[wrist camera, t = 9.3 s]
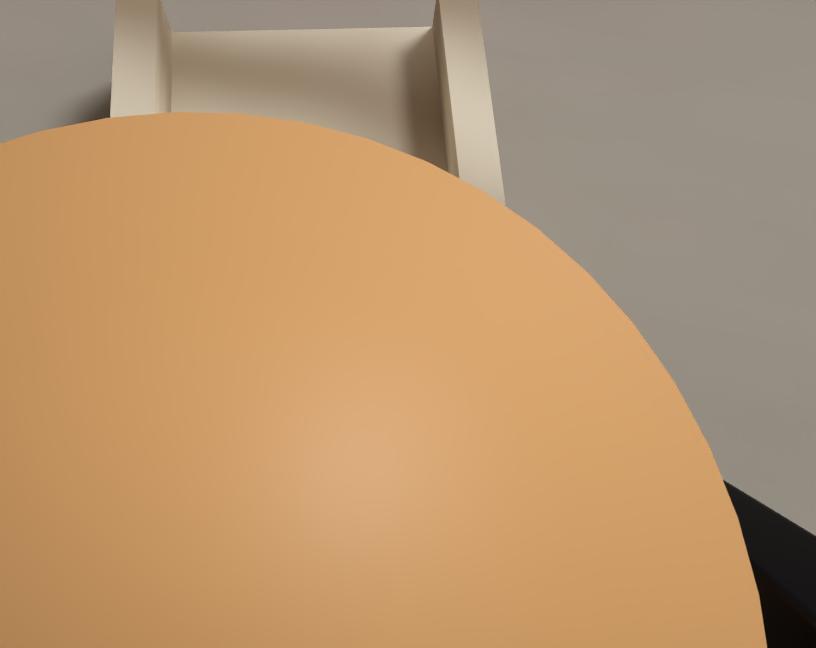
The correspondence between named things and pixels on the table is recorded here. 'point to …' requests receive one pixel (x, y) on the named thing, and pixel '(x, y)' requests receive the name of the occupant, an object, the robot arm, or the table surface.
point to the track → (324, 81)
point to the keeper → (330, 410)
